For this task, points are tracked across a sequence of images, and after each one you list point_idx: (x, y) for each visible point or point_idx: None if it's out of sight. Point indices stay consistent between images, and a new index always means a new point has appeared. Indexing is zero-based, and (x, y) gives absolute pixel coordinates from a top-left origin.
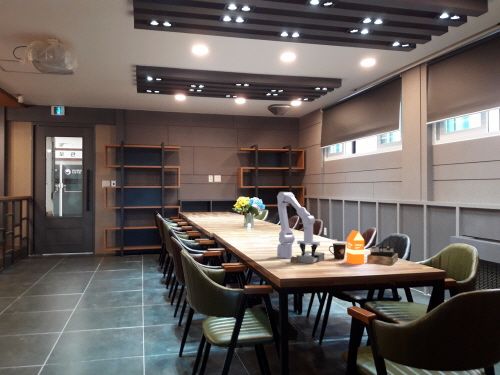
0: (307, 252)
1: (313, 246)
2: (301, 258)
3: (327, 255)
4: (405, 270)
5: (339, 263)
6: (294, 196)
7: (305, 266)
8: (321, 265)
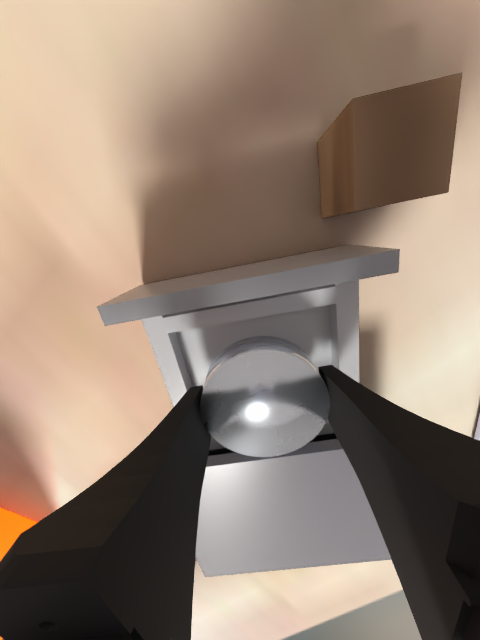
0: (354, 511)
1: (13, 559)
2: (292, 262)
3: (282, 599)
4: None
5: (29, 455)
6: None
7: (83, 35)
8: (31, 274)
